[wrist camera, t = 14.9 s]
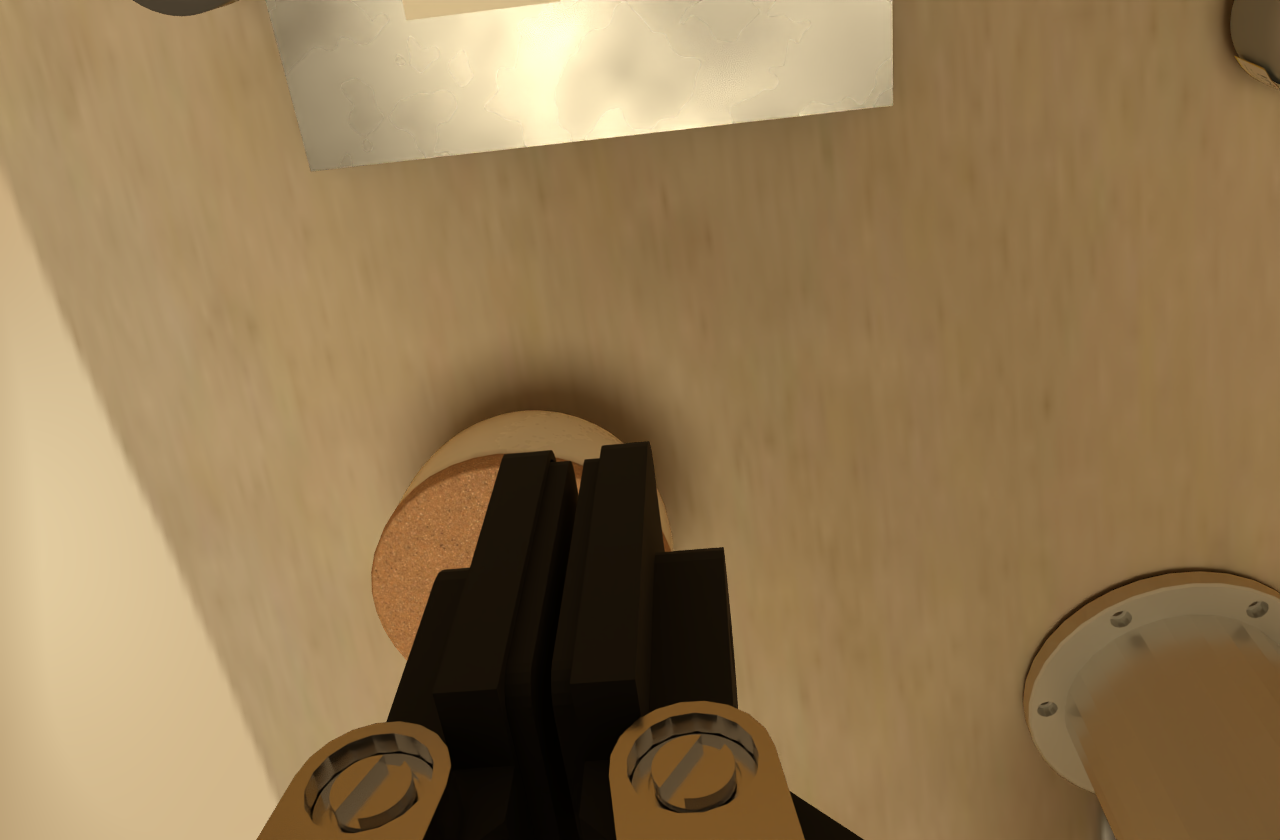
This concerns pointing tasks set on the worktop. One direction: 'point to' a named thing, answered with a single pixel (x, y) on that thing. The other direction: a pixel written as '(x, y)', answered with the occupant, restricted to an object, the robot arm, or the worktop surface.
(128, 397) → the worktop surface
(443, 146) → the plate
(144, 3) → the cable arm
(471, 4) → the label
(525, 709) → the robot arm
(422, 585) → the lidded jar
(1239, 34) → the reed diffuser
